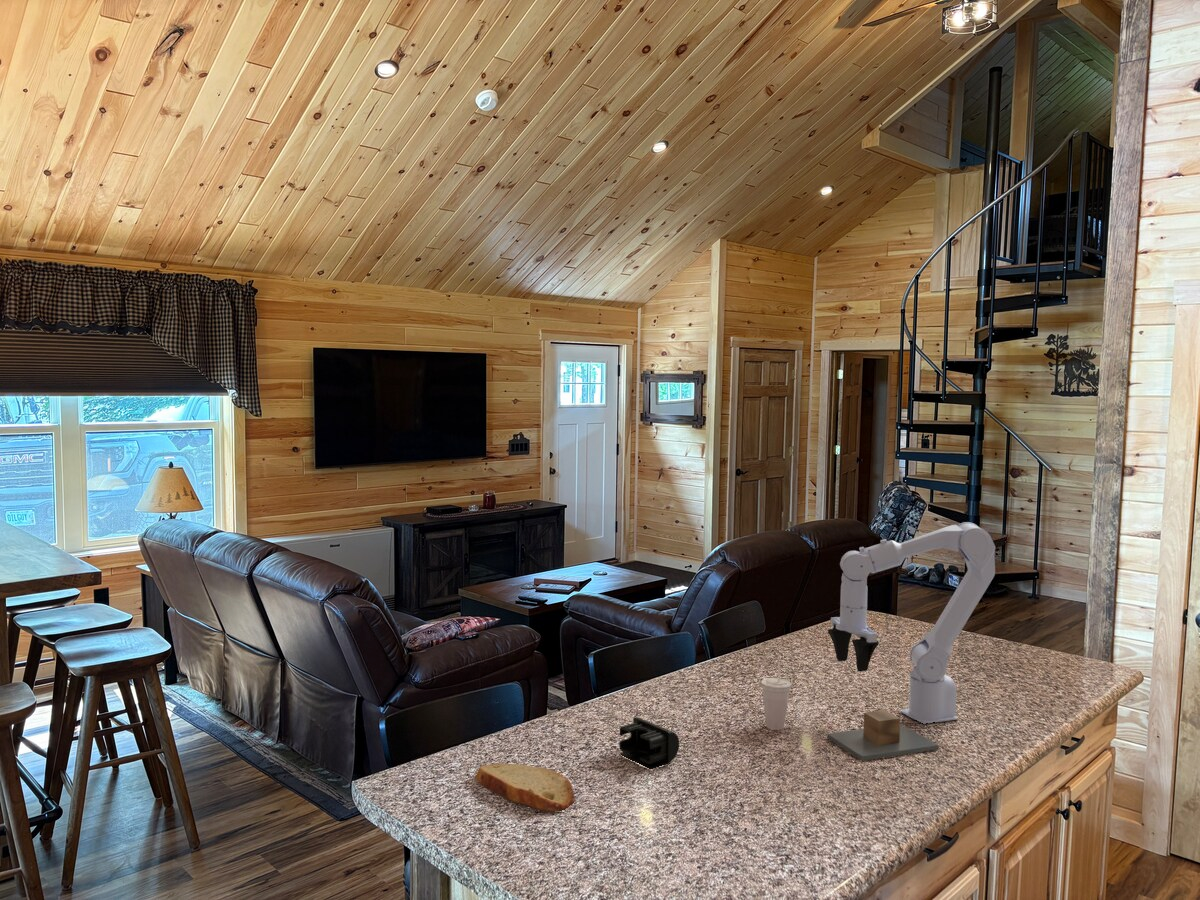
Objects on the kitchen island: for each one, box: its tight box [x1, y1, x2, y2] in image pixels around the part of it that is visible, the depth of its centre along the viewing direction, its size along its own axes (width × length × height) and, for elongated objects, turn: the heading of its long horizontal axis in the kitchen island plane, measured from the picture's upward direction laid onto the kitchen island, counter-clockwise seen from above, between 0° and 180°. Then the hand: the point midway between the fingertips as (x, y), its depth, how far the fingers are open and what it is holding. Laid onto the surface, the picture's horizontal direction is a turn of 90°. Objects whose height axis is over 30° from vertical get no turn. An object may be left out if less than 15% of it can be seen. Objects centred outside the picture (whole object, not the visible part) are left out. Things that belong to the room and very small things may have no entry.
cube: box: [863, 709, 901, 746], centre depth 183 cm, size 5×5×5 cm
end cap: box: [619, 716, 680, 769], centre depth 175 cm, size 10×7×7 cm
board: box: [826, 723, 939, 762], centre depth 183 cm, size 18×12×1 cm, turn 109°
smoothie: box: [760, 661, 792, 731], centre depth 191 cm, size 6×6×14 cm
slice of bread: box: [474, 762, 576, 813], centre depth 160 cm, size 18×18×4 cm
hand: (851, 665), depth 201 cm, fingers open, 7 cm apart
